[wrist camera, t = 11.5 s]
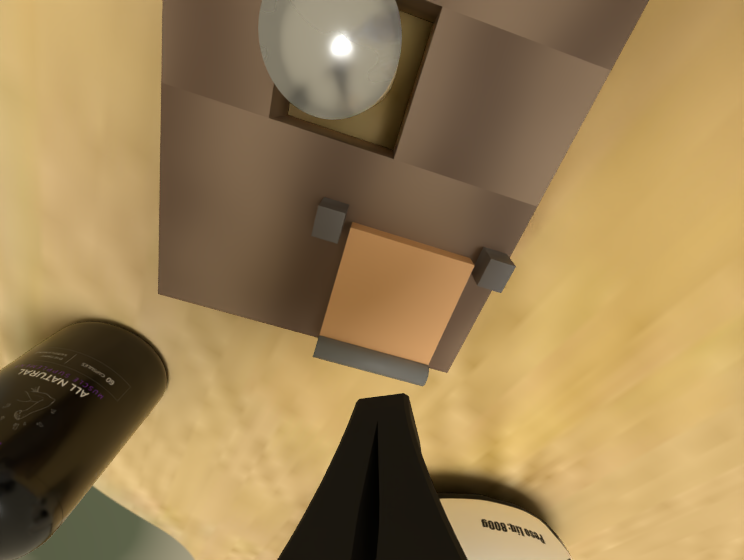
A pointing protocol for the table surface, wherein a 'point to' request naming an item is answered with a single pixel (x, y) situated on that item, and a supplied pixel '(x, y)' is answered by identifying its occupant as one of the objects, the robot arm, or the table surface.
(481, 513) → the milk container
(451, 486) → the table surface
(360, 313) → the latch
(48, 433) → the supplement bottle
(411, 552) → the robot arm
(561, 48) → the brown board with hole
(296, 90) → the steel pin
